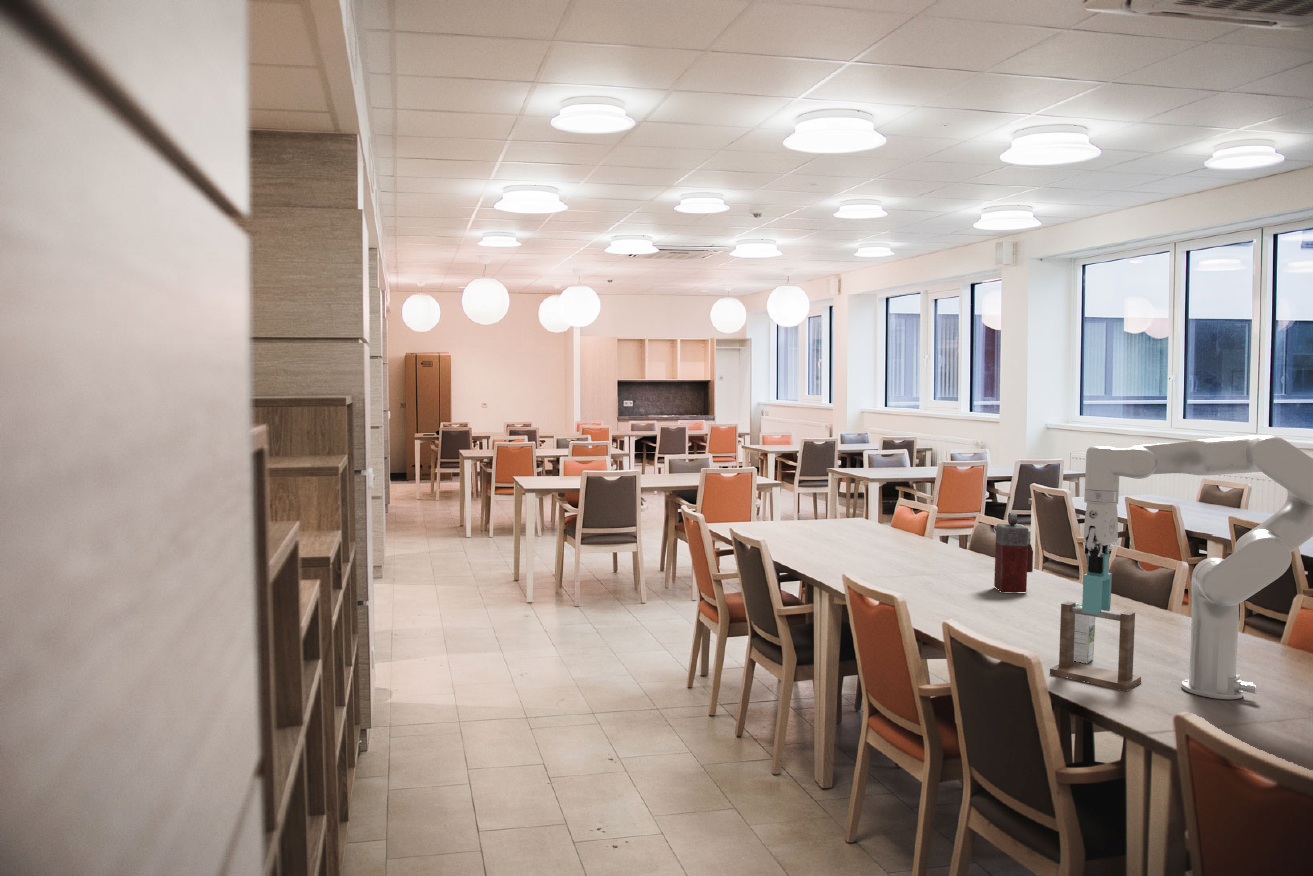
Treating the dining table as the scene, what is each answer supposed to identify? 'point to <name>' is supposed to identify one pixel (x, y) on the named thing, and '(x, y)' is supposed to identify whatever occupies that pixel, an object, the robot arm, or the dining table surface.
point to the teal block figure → (1097, 589)
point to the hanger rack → (1089, 673)
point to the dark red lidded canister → (1012, 556)
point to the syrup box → (1084, 637)
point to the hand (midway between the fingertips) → (1098, 571)
